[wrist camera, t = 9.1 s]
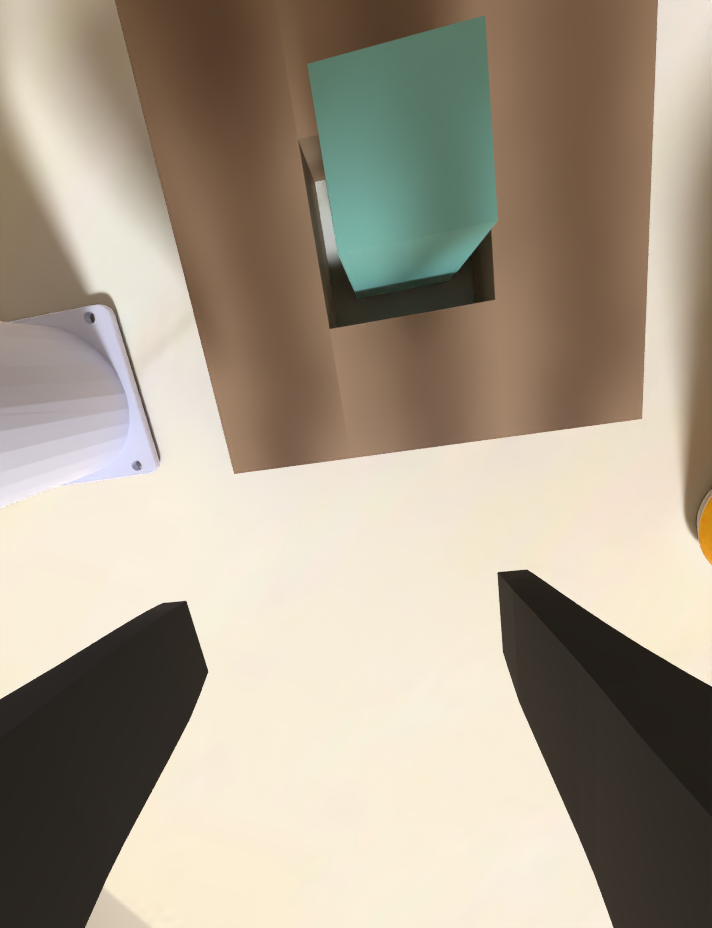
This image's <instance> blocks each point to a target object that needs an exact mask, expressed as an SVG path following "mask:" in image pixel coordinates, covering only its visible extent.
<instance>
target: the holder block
mask: <svg viewBox="0 0 712 928" xmlns="http://www.w3.org/2000/svg"><path fill="white" fill-rule="evenodd" d="M115 2H116V6H117V10H118V14H119V18H120V22H121V26H122V30H123V34H124V38H125V42H126V46H127V50H128V54H129V58H130V62H131V66H132V70H133V74H134V78H135V82H136V86H137V90H138V94H139V98H140V102H141V106H142V109H143V113H144V117H145V121H146V125H147V129H148V133H149V137H150V141H151V145H152V149H153V153H154V157H155V161H156V165H157V169H158V173H159V177H160V181H161V185H162V189H163V193H164V197H165V201H166V205H167V209H168V213H169V217H170V221H171V225H172V229H173V233H174V237H175V241H176V245H177V248H178V252H179V256H180V260H181V264H182V268H183V272H184V276H185V280H186V284H187V288H188V292H189V296H190V300H191V304H192V308H193V312H194V316H195V320H196V324H197V328H198V332H199V336H200V340H201V344H202V348H203V352H204V356H205V360H206V364H207V368H208V372H209V376H210V380H211V384H212V387H213V391H214V395H215V399H216V403H217V407H218V411H219V415H220V419H221V423H222V427H223V431H224V435H225V439H226V443H227V447H228V451H229V455H230V459H231V463H232V467H233V471H234V474H237V473H244V472H252V471H259V470H267V469H274V468H281V467H289V466H296V465H304V464H311V463H318V462H326V461H333V460H341V459H348V458H355V457H363V456H370V455H378V454H385V453H392V452H400V451H407V450H415V449H422V448H429V447H437V446H444V445H452V444H459V443H466V442H474V441H481V440H489V439H496V438H503V437H511V436H518V435H526V434H533V433H540V432H548V431H555V430H563V429H570V428H577V427H585V426H592V425H600V424H607V423H614V422H622V421H629V420H637V419H642V404H643V377H644V351H645V325H646V298H647V272H648V245H649V219H650V193H651V166H652V140H653V114H654V87H655V61H656V34H657V8H658V0H115ZM484 15H485V23H486V39H487V55H488V71H489V87H490V103H491V119H492V135H493V151H494V167H495V183H496V199H497V215H498V221H497V222H496V224H495V225H494V226H493V227H492V229H491V230H490V231H489V232H488V234H487V235H486V236H485V237H484V239H483V240H482V241H481V242H480V244H479V245H478V246H477V247H476V249H475V250H474V251H473V253H472V268H473V282H474V296H475V303H474V304H469V305H463V306H457V307H452V308H446V309H440V310H435V311H429V312H423V313H418V314H412V315H406V316H401V317H395V318H389V319H384V320H378V321H373V322H367V323H361V324H356V325H350V326H344V327H339V328H338V324H337V318H336V312H335V306H334V299H333V293H332V287H331V281H330V274H329V268H328V262H327V256H326V250H325V243H324V237H323V231H322V225H321V219H320V212H319V206H318V200H317V194H316V187H315V181H320V180H324V179H326V177H325V171H324V165H323V159H322V152H321V146H320V140H319V134H318V128H317V122H316V115H315V109H314V103H313V97H312V91H311V84H310V78H309V72H308V66H307V64H309V63H313V62H316V61H320V60H324V59H327V58H331V57H335V56H338V55H342V54H345V53H349V52H353V51H356V50H360V49H364V48H367V47H371V46H375V45H378V44H382V43H386V42H389V41H393V40H397V39H400V38H404V37H408V36H411V35H415V34H419V33H422V32H426V31H430V30H433V29H437V28H440V27H444V26H448V25H451V24H455V23H459V22H462V21H466V20H470V19H473V18H477V17H481V16H484Z"/></svg>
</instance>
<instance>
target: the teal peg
mask: <svg viewBox="0 0 712 928" xmlns="http://www.w3.org/2000/svg"><path fill="white" fill-rule="evenodd" d="M307 66H308V72H309V78H310V84H311V91H312V97H313V103H314V109H315V115H316V122H317V128H318V134H319V140H320V146H321V152H322V159H323V165H324V171H325V177H326V183H327V190H328V196H329V202H330V208H331V214H332V220H333V227H334V233H335V239H336V245H337V251H338V255H339V258H340V260H341V262H342V265H343V267H344V269H345V271H346V274H347V276H348V278H349V280H350V283H351V285H352V287H353V290H354V292H355V294H356V296H357V299H359V298H364V297H369V296H375V295H380V294H385V293H390V292H395V291H400V290H405V289H411V288H416V287H421V286H426V285H431V284H436V283H441V282H447V281H450V280H451V279H452V278H453V276H454V275H455V274H456V273H457V271H458V270H459V269H460V268H461V266H462V265H463V264H464V263H465V261H466V260H467V259H468V258H469V256H470V255H471V254H472V253H473V251H474V250H475V249H476V247H477V246H478V245H479V244H480V242H481V241H482V240H483V239H484V237H485V236H486V235H487V234H488V232H489V231H490V230H491V229H492V227H493V226H494V225H495V224H496V222H497V221H498V215H497V199H496V183H495V167H494V151H493V135H492V119H491V103H490V87H489V71H488V55H487V39H486V23H485V15H484V16H481V17H477V18H473V19H470V20H466V21H462V22H459V23H455V24H451V25H448V26H444V27H440V28H437V29H433V30H430V31H426V32H422V33H419V34H415V35H411V36H408V37H404V38H400V39H397V40H393V41H389V42H386V43H382V44H378V45H375V46H371V47H367V48H364V49H360V50H356V51H353V52H349V53H345V54H342V55H338V56H335V57H331V58H327V59H324V60H320V61H316V62H313V63H309V64H307Z"/></svg>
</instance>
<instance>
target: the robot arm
mask: <svg viewBox="0 0 712 928" xmlns="http://www.w3.org/2000/svg"><path fill="white" fill-rule="evenodd" d="M92 313H93V314H94V316H95V321H94V323H92V321H91V317H90V316H91V314H92ZM137 461H139V462H140V463H141V465H142V468H139V467H138V465H137ZM159 466H160V463H159V458H158V455H157V452H156V449H155V445H154V442H153V439H152V435H151V432H150V429H149V425H148V422H147V419H146V416H145V412H144V409H143V406H142V402H141V399H140V396H139V392H138V389H137V386H136V382H135V379H134V376H133V373H132V369H131V366H130V363H129V359H128V356H127V353H126V349H125V346H124V343H123V339H122V336H121V333H120V330H119V326H118V323H117V320H116V316H115V314H114V312H113V310H112V309H111V308H110V307H108V306H106V305H102V304H94V305H89V306H84V307H79V308H74V309H69V310H64V311H59V312H54V313H49V314H44V315H39V316H34V317H29V318H24V319H19V320H14V321H9V322H4V321H0V508H3V507H5V506H8V505H11V504H13V503H16V502H19V501H21V500H24V499H26V498H29V497H32V496H34V495H37V494H39V493H42V492H45V491H47V490H50V489H53V488H55V487H58V486H65V485H72V484H79V483H86V482H93V481H101V480H108V479H115V478H122V477H129V476H136V475H144V474H150V473H153V472H155V471H157V470H158V469H159ZM498 586H499V601H500V615H501V630H502V644H503V653H504V656H505V660H506V663H507V666H508V669H509V672H510V675H511V679H512V682H513V685H514V688H515V691H516V694H517V697H518V700H519V702H520V705H521V707H522V709H523V712H524V714H525V716H526V719H527V721H528V723H529V725H530V728H531V730H532V732H533V735H534V737H535V739H536V741H537V744H538V746H539V748H540V750H541V753H542V755H543V757H544V759H545V762H546V764H547V766H548V768H549V771H550V773H551V775H552V777H553V780H554V782H555V784H556V786H557V789H558V791H559V793H560V796H561V798H562V800H563V802H564V805H565V807H566V809H567V811H568V814H569V816H570V818H571V820H572V823H573V825H574V827H575V829H576V832H577V834H578V836H579V838H580V841H581V843H582V846H583V848H584V851H585V853H586V856H587V858H588V860H589V863H590V865H591V868H592V870H593V873H594V875H595V878H596V880H597V883H598V886H599V889H600V891H601V894H602V897H603V900H604V902H605V905H606V908H607V911H608V913H609V916H610V919H611V922H612V924H613V927H614V928H712V687H711V686H710V685H708V684H706V683H704V682H702V681H701V680H699V679H697V678H695V677H693V676H692V675H690V674H688V673H686V672H685V671H683V670H681V669H680V668H678V667H676V666H675V665H673V664H671V663H670V662H668V661H666V660H664V659H663V658H661V657H659V656H658V655H656V654H654V653H653V652H651V651H649V650H648V649H646V648H644V647H643V646H641V645H639V644H638V643H636V642H635V641H633V640H631V639H630V638H628V637H627V636H625V635H623V634H622V633H620V632H619V631H617V630H616V629H614V628H612V627H611V626H609V625H608V624H606V623H605V622H603V621H602V620H600V619H599V618H597V617H596V616H594V615H593V614H591V613H590V612H588V611H587V610H585V609H584V608H582V607H581V606H579V605H578V604H576V603H575V602H574V601H572V600H571V599H569V598H568V597H566V596H565V595H563V594H562V593H560V592H559V591H558V590H556V589H555V588H553V587H552V586H550V585H549V584H548V583H546V582H545V581H543V580H542V579H540V578H539V577H538V576H536V575H535V574H533V573H532V572H530V571H528V570H518V571H507V572H498ZM207 674H208V669H207V666H206V663H205V659H204V656H203V653H202V650H201V647H200V643H199V640H198V637H197V634H196V631H195V627H194V624H193V621H192V618H191V615H190V611H189V608H188V605H187V602H186V601H180V602H170V603H162V604H160V605H158V606H156V607H154V608H152V609H150V610H148V611H146V612H144V613H143V614H141V615H139V616H137V617H136V618H134V619H132V620H131V621H129V622H127V623H126V624H124V625H122V626H121V627H119V628H117V629H116V630H114V631H112V632H111V633H109V634H108V635H106V636H104V637H103V638H101V639H99V640H98V641H96V642H95V643H93V644H91V645H90V646H88V647H87V648H85V649H83V650H82V651H80V652H78V653H77V654H75V655H74V656H72V657H70V658H69V659H67V660H66V661H64V662H62V663H61V664H59V665H57V666H56V667H54V668H52V669H51V670H49V671H47V672H46V673H44V674H42V675H41V676H39V677H37V678H36V679H34V680H32V681H31V682H29V683H27V684H25V685H24V686H22V687H20V688H19V689H17V690H15V691H14V692H12V693H10V694H9V695H7V696H5V697H3V698H2V699H0V928H85V926H86V924H87V922H88V919H89V917H90V915H91V913H92V910H93V908H94V906H95V904H96V901H97V899H98V897H99V895H100V892H101V890H102V888H103V886H104V884H105V881H106V879H107V877H108V875H109V873H110V871H111V869H112V867H113V865H114V863H115V861H116V859H117V857H118V855H119V853H120V851H121V849H122V847H123V844H124V842H125V841H126V839H127V837H128V835H129V833H130V831H131V829H132V827H133V826H134V824H135V822H136V820H137V818H138V816H139V814H140V812H141V811H142V809H143V807H144V805H145V803H146V801H147V799H148V797H149V796H150V794H151V792H152V790H153V788H154V786H155V784H156V783H157V781H158V779H159V777H160V775H161V773H162V771H163V769H164V768H165V766H166V764H167V762H168V760H169V758H170V756H171V754H172V752H173V751H174V749H175V747H176V745H177V743H178V741H179V739H180V737H181V735H182V733H183V731H184V729H185V727H186V725H187V723H188V722H189V720H190V717H191V715H192V713H193V710H194V708H195V705H196V703H197V700H198V698H199V695H200V693H201V690H202V687H203V685H204V682H205V679H206V676H207Z"/></svg>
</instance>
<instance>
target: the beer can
mask: <svg viewBox="0 0 712 928" xmlns="http://www.w3.org/2000/svg"><path fill="white" fill-rule="evenodd" d="M697 531H698V537H699V543H700V547H701V550H702V552H703V554H704V556H705V557H706V559H707V560H708V561H709V563H710V564H711V565H712V488H711V490H710V491H709V492H708V493H707V495H706V496H705V498H704V499H703V501H702V503H701V505H700V508H699V511H698V515H697Z"/></svg>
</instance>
